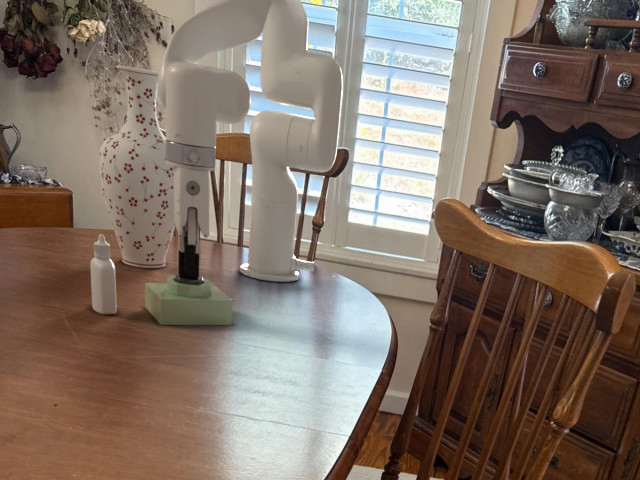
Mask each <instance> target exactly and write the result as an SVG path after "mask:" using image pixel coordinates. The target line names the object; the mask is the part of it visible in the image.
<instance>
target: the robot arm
mask: <svg viewBox="0 0 640 480" xmlns="http://www.w3.org/2000/svg"><path fill="white" fill-rule="evenodd" d="M305 9H306V8H305V7H304V5H303V2H302V1H301V0H212V1H211V2H210V3H208V4H206V5H205V6H203V7H201V8H199V10H197V11H196V12H194V13H193V14H192V15H191V16H189V17H188V18H187V19H185V20H184V21H183V22H182V23H181V24H180V25H179V26H178V27H177V28H176V29H175V30H174V32H173V33H172V35H171V36H170V38H169V40H168V43H167V46H166V48H165V51H164V54H163V57H162V60H161V63H160V67H159V71H158V72H159V76H158V91H157V94H158V98H159V100H160V102H161V104H162V105H163V107H164V108H165V138H166V164H168V165H171V166H174V175H173V191H174V216H175V228H176V231H177V233H178V234H179V250H178V263H177V264H178V265H177V267H178V270H177V271H178V272H177V274H179V276H180V277H182V278H194V279H198V278H199V276H200V253H199V251H200V250H199V248H200V247H199V246H200V234H201V235H203V237H204V238H205V239H207V238H209V236H210V173H209V172H215V171H216V161H217V160H216V158H217V157H216V156H217V155H216V154H217V128H218V127H217V126H218V125H217V124H218V123H220V124H227V125H234V124H238V123H239V122H242V121H243V120H244V119H245V118H246V117H247V115H248V114H249V112H250V108H251V103H252V99H251V98H252V97H251V91H250V87H249V85H248V83H247V81H246V80H245V78H243V76H241V75H240V73H239V74H238V73H237V72H235V71H233V70H230V69H225V68H220V67H214V66H209V65H203V64H199V62H201V61H202V60H203V59H204V58H206V57H208V56H210V55H212V54H215V53H218V52H221V51H225V50H231V49H234V48H238V47H240V46H243V45H247V44H249V43H253V42H254V41H256V40H257V39H258V38H259V37H260V36H261V35H262V36H261V52H260V53H261V57H260V58H261V59H260V87H261V92H262V95H263V96H264V97H265V98H266V99H267V100H269V101H271V102H273V103H275V104H276V103H277V104H280V105H284V106H291V107H296V108H301V109H306V110H311V111H312V112H313V116H314V117H309V116H305V115H304V116H303V115H299V114H296V113H290V112H284V111H280V110H279V111H278V110H264V111H260V112H259V113H257V114H255V116H253V118H252V120H251V122H250V127H249V142H250V144H249V145H250V153H251V166H252V167H251V169H252V172H251V173H252V175H251V177H252V178H251V197H250V199H251V200H250V215H249V216H250V218H249V236H248V237H249V238H248V253H247V255H248V257H247V262H246V263H242V264H241V265H240V266H239V267H240V268H239V271H240V273H241V274H243V275H245V276H247V277H249V278H253V279H256V280H260V281H261V280H262V281H268V282H277V283H278V282H279V283H288V282H295V281H297V280H299V277H300V273H299V272H300V271H307V272H314V271H315V261H307V260H305V259H299V258H297V257H296V256H295V255H294V250H295V240H296V239H295V237H296V226H297V214H298V204H299V203H298V202H299V201H298V200H299V190H298V189H299V188H298V185H297V182H296V180H295V178H294V176H293V174H292V173H291V170H290V168H292V169H297V170H303V171H310V172H315V173H327V172H329V171H330V170H331V169H332V168H333V166H334V165H335V161H336V158H337V152H338V144H339V132H340V124H341V123H340V122H341V111H342V102H343V88H344V87H343V86H344V84H343V83H344V81H343V73H342V68H341V66H340V64H339V62H338V61H337V60H336V58H334V57H332V56H329V55H327V54H323V53H317V52H311V51H309V50H308V39H309V37H308V35H309V18H308V14H307V12H306V10H305Z"/></svg>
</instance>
